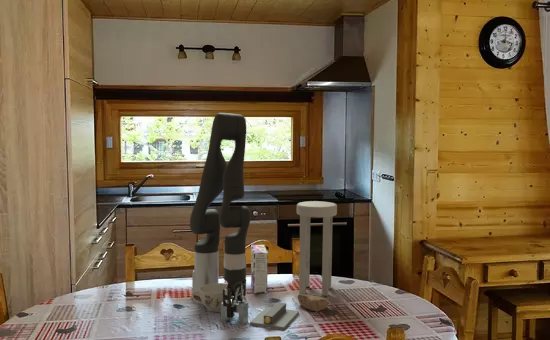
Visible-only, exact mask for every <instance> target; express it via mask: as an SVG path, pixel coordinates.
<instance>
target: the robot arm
mask: <svg viewBox="0 0 550 340" xmlns="http://www.w3.org/2000/svg"><path fill="white" fill-rule="evenodd" d="M222 141H234V151H233V153H232V155H231V157H230V159H229V161H226V159H225V156H224V155H223V152H222V149H221V146H222V145H221V144H222ZM246 142H247V120H246V117H244V115H242V114H241V113H240V114H239V113H227V112H218V113H216V114H215V116H214V117H213V121H212V125H211V131H210V140H209V145H208V151H207V154H206V159H205V161H204V162H205V163H204V165H203V166H204V167H203V170H202V174H201V177H200V184H199V187H198V193H197V197H196V199H195V202H194V205H193V208H192V211H191V213H190V218H189V227H190V228H189V229H190V231H191V232H192V234H194V235H205V234H206V236H204V237H203V238H202V239H201V240H199V241H196V243H195V244H194V246H193V247H194V255H193V256H194V270H192V273H191V274H192V280H191V281H192V283H191V285H192V288H191V289H192V290H191V292H192V293H193V292H194V291H199V288H200V287H202V286H203V285H206V284H214V283H219V246H220V234H221V227H222V228H224V229H231V228H232V229H233V228H237V231H236V232H233V233H230V234H227V235H226V236H224V239H223V241H224V243H223V244H224V247H223V248H224V251H223V252H224V256H223V280H224V281H226V282H227V284H228V285H227V289H223V306H226V307H227V317H228V318H230V319H233V318H234V317H235V316H234V315H235V314H234V307H233V306H234V302H235V300H236V301H243V302H244V297H246V295H247V255H246V240H247V235H248V234H247V233H248V230H249V227H250V223H251V220H252V213H251V212H252V211H251V210H250V208H249V207H248V206H246V205H240V206H238V205H237V206H236V205H235V206H231V205H230V204H231V203H232V202H235V201H239V200H242V199H243V198H244V197H245V181H244V180H245V179H244V167H245V166H244V165H245V156H246V155H245V153H246ZM221 194H222V201H221V202H222V203H221V207H220V210H219V211H218V210H217V209H216V208H215V209H214V208H209V206H210V205H211V204H212V203H213V202H214V201H215V200H216V198H218V197H219V196H220V195H221ZM208 208H209V209H208ZM231 296H233V297H231ZM194 297H199V298H200V296H199V295H198V294H195V295H194ZM231 300H232V303H231Z"/></svg>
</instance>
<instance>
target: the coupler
mask: <svg viewBox="0 0 550 340" xmlns="http://www.w3.org/2000/svg"><path fill="white" fill-rule="evenodd" d="M299 315H300V310H296V309H295V310H294V309H287V303H286V302H285V303H284V302H277V303H276V304H274V305H273V306H272V307H271V306H266V307H265V308H264V309H263V310H262V311H260V312H259V313H258V314H257V315H256V316H255V317H254V318H253V319H251V320H250V321H249V325H250V326H253V327H254V326H255V327H259V328H260V327H261V328H267V329H275V330H279V331H280V330H281V331H285V329H287V328H288V327H289V325H290V324H291V323H292V322H293V321H294V320H295V319H296V318H297V317H298V316H299Z"/></svg>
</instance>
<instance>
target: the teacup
mask: <svg viewBox="0 0 550 340" xmlns="http://www.w3.org/2000/svg"><path fill="white" fill-rule="evenodd" d="M227 285H228V283H223V282H221V283H220V282H218V283H214V284H206V285H203V286H202V287H200V288H199V291H194V292H193V293H192V294H191V297H192V300H193V301H194V302H195V303H197V304H201V305H204V307H206V308H207V309H208V310H209V311H210V312H214V313H215V312H216V313H221V303H222V302H223V289H227ZM195 294H198V295H199V296H200V297H199V298H200V300H201V301H200V300H198V299H196V298H195ZM231 297H233V296H231Z"/></svg>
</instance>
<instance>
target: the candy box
mask: <svg viewBox="0 0 550 340" xmlns="http://www.w3.org/2000/svg"><path fill="white" fill-rule="evenodd" d="M268 255H269V252H268V251H267V248H266V245H265V244H251V246H250V264H251V266H250V274H251V275H250V283H251V289H252V292H253V294H268V267H269V265H268V264H269V256H268Z"/></svg>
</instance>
